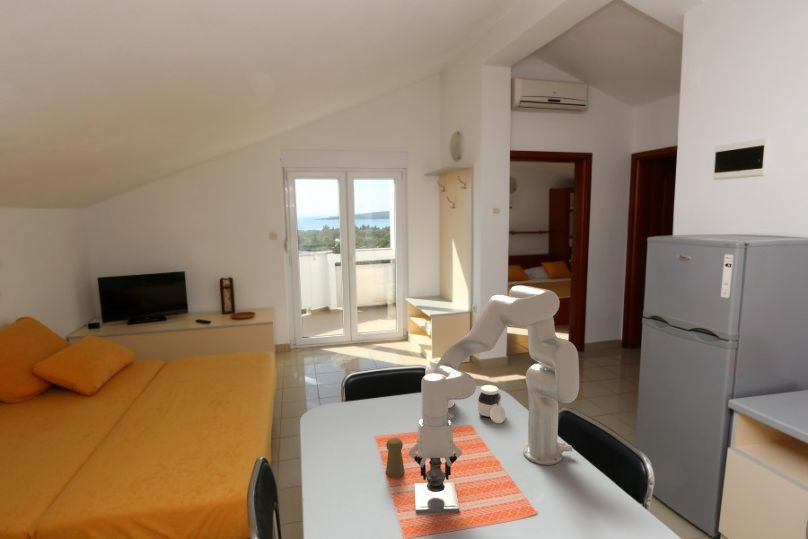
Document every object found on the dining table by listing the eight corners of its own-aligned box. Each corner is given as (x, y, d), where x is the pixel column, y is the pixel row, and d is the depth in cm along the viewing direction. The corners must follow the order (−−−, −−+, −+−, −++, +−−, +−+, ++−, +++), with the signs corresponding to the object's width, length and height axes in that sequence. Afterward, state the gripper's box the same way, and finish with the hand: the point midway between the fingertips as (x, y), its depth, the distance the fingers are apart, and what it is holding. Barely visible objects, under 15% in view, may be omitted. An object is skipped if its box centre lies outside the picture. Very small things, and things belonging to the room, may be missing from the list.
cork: (390, 479, 140) (390, 446, 139) (382, 470, 145) (381, 438, 144) (407, 474, 143) (407, 441, 141) (399, 465, 148) (398, 433, 147)
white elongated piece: (424, 409, 190) (423, 363, 187) (427, 397, 202) (426, 354, 199) (453, 411, 187) (453, 364, 185) (455, 398, 200) (455, 355, 197)
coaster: (454, 485, 136) (454, 482, 136) (459, 511, 124) (459, 507, 124) (414, 486, 136) (414, 483, 136) (416, 512, 124) (415, 509, 124)
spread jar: (486, 408, 189) (486, 382, 188) (511, 415, 182) (512, 388, 181) (473, 419, 179) (473, 391, 178) (499, 427, 173) (499, 398, 171)
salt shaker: (444, 493, 126) (444, 453, 125) (424, 491, 127) (423, 451, 126) (446, 481, 132) (446, 443, 130) (427, 479, 133) (426, 441, 132)
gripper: (463, 411, 131) (463, 469, 133) (404, 412, 131) (405, 470, 133) (467, 423, 123) (467, 484, 126) (404, 424, 123) (405, 485, 125)
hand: (435, 476), depth 129 cm, fingers closed on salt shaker, 5 cm apart
